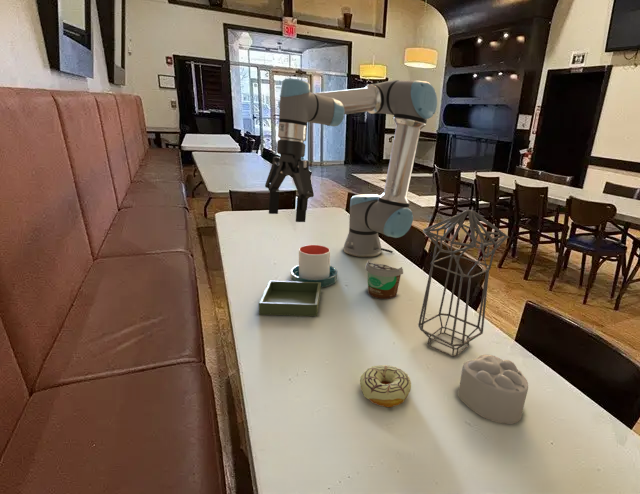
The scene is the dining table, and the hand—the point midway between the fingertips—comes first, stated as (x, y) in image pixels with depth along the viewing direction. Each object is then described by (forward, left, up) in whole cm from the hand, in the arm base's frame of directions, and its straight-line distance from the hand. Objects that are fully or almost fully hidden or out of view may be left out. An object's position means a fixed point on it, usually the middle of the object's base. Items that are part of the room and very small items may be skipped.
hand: (286, 217), depth 118 cm
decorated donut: (-26, +47, -24) cm, 59 cm away
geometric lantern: (-44, +28, -24) cm, 58 cm away
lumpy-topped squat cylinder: (-48, +50, -24) cm, 74 cm away
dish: (-7, -11, -23) cm, 27 cm away
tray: (-2, +7, -23) cm, 25 cm away
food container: (-28, 0, -24) cm, 37 cm away
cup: (-7, -11, -23) cm, 26 cm away
